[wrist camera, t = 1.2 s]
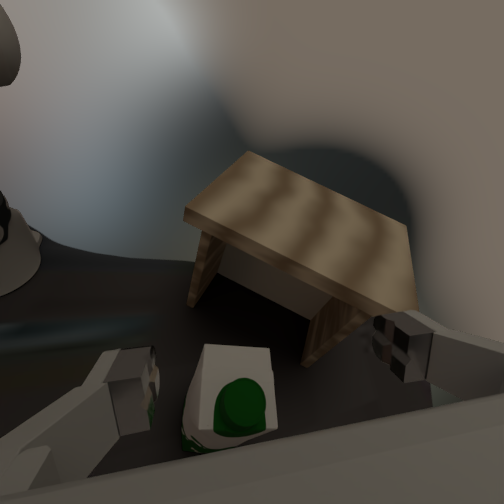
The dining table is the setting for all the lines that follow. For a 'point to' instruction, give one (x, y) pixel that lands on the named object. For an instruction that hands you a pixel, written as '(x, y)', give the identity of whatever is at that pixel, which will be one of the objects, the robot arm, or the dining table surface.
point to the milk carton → (229, 399)
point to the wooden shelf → (301, 250)
